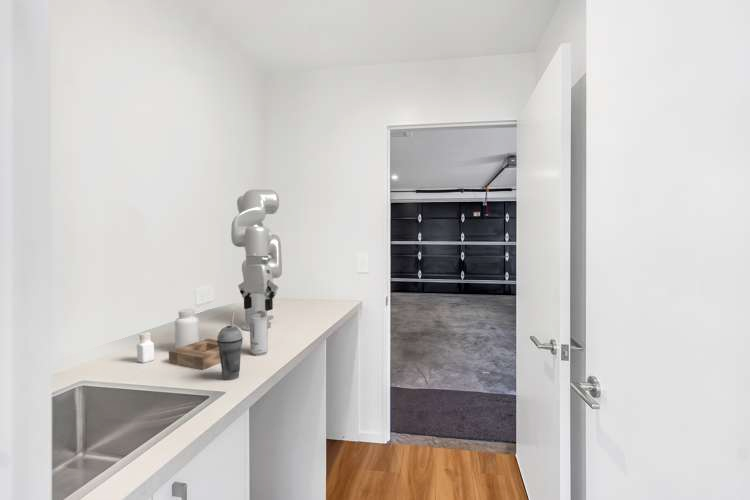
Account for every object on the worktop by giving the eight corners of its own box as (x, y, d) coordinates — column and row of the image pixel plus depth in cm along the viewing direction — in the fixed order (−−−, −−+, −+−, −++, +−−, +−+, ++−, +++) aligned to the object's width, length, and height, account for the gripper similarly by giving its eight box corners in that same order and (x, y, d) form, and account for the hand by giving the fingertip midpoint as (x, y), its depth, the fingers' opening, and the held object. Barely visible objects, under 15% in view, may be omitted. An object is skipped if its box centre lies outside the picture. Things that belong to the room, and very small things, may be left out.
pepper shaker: (155, 360, 130) (154, 332, 130) (143, 363, 127) (142, 335, 126) (148, 358, 132) (147, 331, 132) (136, 361, 129) (135, 334, 128)
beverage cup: (217, 375, 116) (215, 310, 115) (243, 371, 119) (241, 308, 118) (218, 383, 110) (216, 315, 109) (244, 379, 112) (243, 312, 111)
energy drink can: (247, 353, 137) (246, 312, 136) (263, 349, 141) (261, 309, 140) (255, 357, 133) (254, 314, 132) (271, 353, 137) (270, 311, 136)
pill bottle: (190, 354, 136) (188, 312, 136) (170, 353, 138) (169, 312, 137) (204, 347, 144) (203, 308, 143) (185, 346, 146) (184, 307, 145)
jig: (208, 349, 142) (208, 338, 142) (240, 354, 135) (240, 343, 135) (169, 362, 128) (168, 351, 127) (203, 369, 121) (202, 357, 121)
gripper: (283, 260, 135) (284, 309, 135) (246, 260, 142) (247, 306, 143) (269, 262, 128) (270, 312, 128) (230, 261, 135) (232, 309, 136)
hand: (258, 309), depth 135 cm, fingers open, 9 cm apart
